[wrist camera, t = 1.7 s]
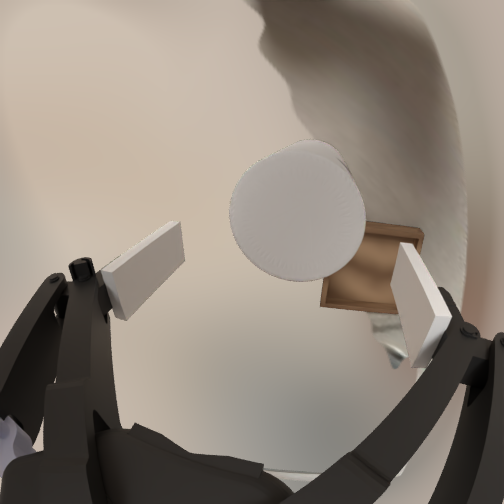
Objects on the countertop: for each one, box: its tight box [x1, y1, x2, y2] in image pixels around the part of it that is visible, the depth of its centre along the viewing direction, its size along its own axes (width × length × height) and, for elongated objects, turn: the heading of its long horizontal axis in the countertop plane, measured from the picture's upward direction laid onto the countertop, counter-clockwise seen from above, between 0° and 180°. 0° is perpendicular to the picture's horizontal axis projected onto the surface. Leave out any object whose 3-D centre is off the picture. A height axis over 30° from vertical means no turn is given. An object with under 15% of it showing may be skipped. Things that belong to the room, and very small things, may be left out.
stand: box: [320, 221, 424, 314], centre depth 39 cm, size 14×14×2 cm
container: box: [229, 139, 366, 282], centre depth 28 cm, size 10×10×20 cm
